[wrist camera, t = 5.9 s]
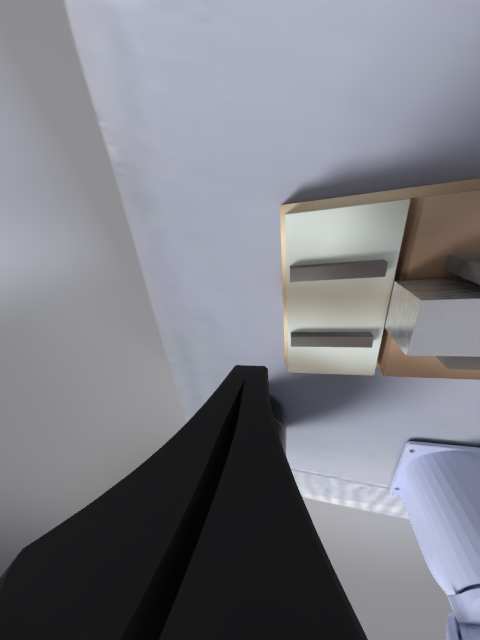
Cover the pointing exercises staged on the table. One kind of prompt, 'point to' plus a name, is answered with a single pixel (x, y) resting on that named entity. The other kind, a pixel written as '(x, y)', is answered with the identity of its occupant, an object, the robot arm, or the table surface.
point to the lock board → (372, 275)
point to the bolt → (435, 317)
